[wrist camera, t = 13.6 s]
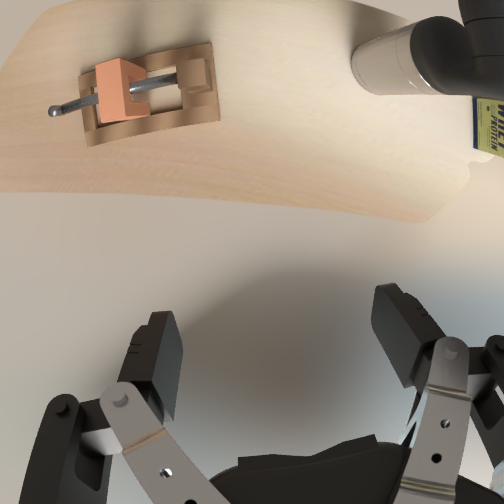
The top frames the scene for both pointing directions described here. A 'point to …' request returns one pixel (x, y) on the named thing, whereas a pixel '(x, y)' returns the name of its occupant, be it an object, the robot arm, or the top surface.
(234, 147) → the top surface
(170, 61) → the wooden hook stand
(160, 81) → the hook arm
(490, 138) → the protein box
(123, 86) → the salmon wooden arch
